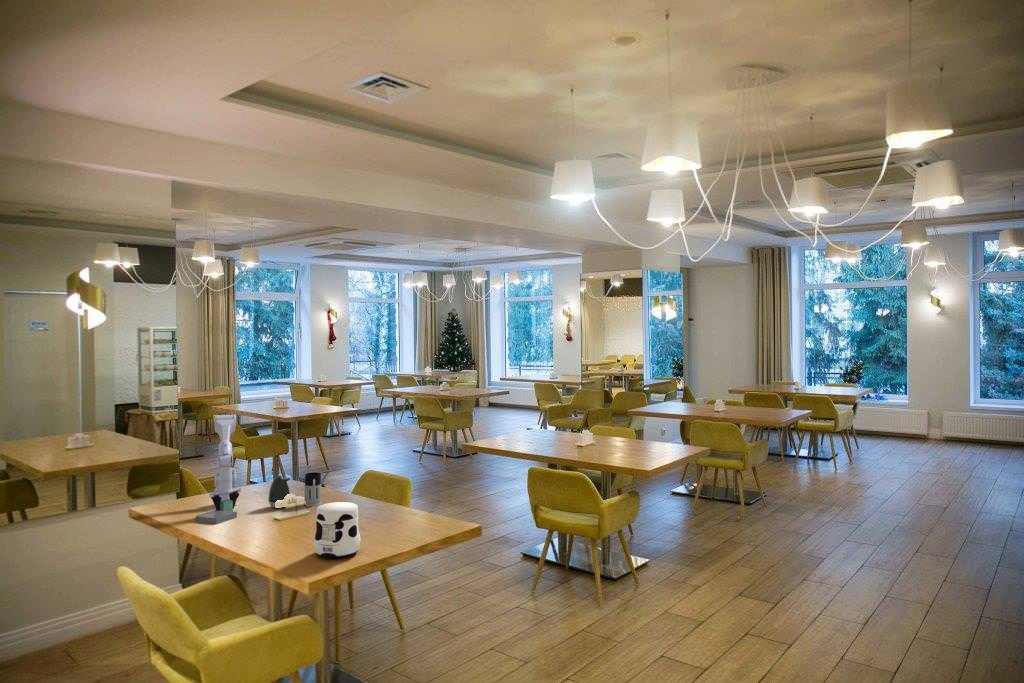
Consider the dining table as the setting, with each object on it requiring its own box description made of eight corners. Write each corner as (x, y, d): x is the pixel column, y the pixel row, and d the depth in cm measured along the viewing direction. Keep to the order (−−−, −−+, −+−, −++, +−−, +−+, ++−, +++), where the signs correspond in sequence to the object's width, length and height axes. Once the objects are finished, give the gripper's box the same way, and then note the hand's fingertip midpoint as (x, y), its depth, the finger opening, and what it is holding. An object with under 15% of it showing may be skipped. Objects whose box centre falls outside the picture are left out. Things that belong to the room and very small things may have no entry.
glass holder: (321, 501, 342) (321, 471, 342) (323, 508, 329) (323, 477, 329) (303, 502, 339) (303, 472, 339) (304, 509, 326) (304, 478, 326)
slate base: (195, 521, 306) (195, 515, 306) (216, 514, 317) (216, 509, 317) (216, 524, 301) (216, 518, 301) (236, 517, 312) (236, 511, 312)
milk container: (353, 544, 273) (353, 499, 273) (366, 557, 258) (366, 509, 258) (309, 550, 265) (309, 504, 265) (319, 564, 250) (319, 515, 249)
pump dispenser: (286, 510, 325) (286, 478, 325) (265, 510, 326) (265, 478, 325) (294, 504, 336) (293, 473, 335) (272, 504, 336) (272, 473, 336)
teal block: (218, 513, 319) (218, 501, 319) (227, 511, 322) (227, 499, 322) (223, 515, 316) (223, 502, 316) (232, 513, 320) (232, 500, 319)
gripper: (215, 484, 311) (215, 514, 311) (244, 479, 322) (244, 508, 322) (206, 482, 315) (206, 511, 315) (236, 477, 326) (235, 506, 326)
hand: (225, 509), depth 319 cm, fingers open, 6 cm apart
